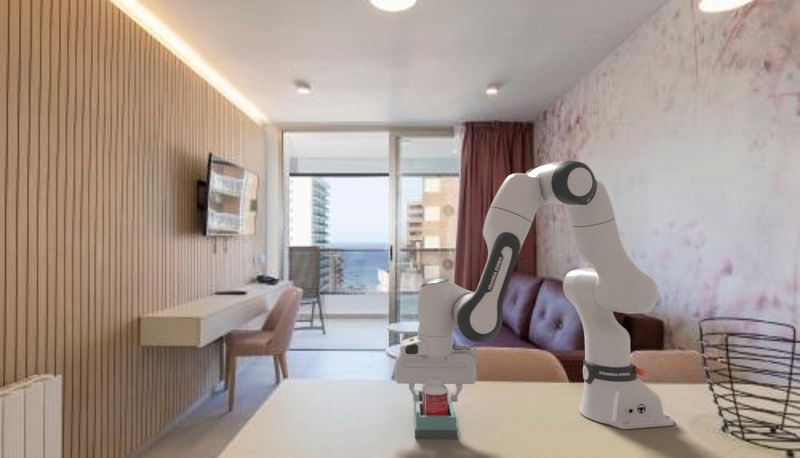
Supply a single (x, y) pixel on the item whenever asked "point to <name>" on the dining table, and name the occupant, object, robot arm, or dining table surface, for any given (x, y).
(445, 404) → the pill bottle
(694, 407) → the dining table surface
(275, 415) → the dining table surface
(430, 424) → the teal tray with block
